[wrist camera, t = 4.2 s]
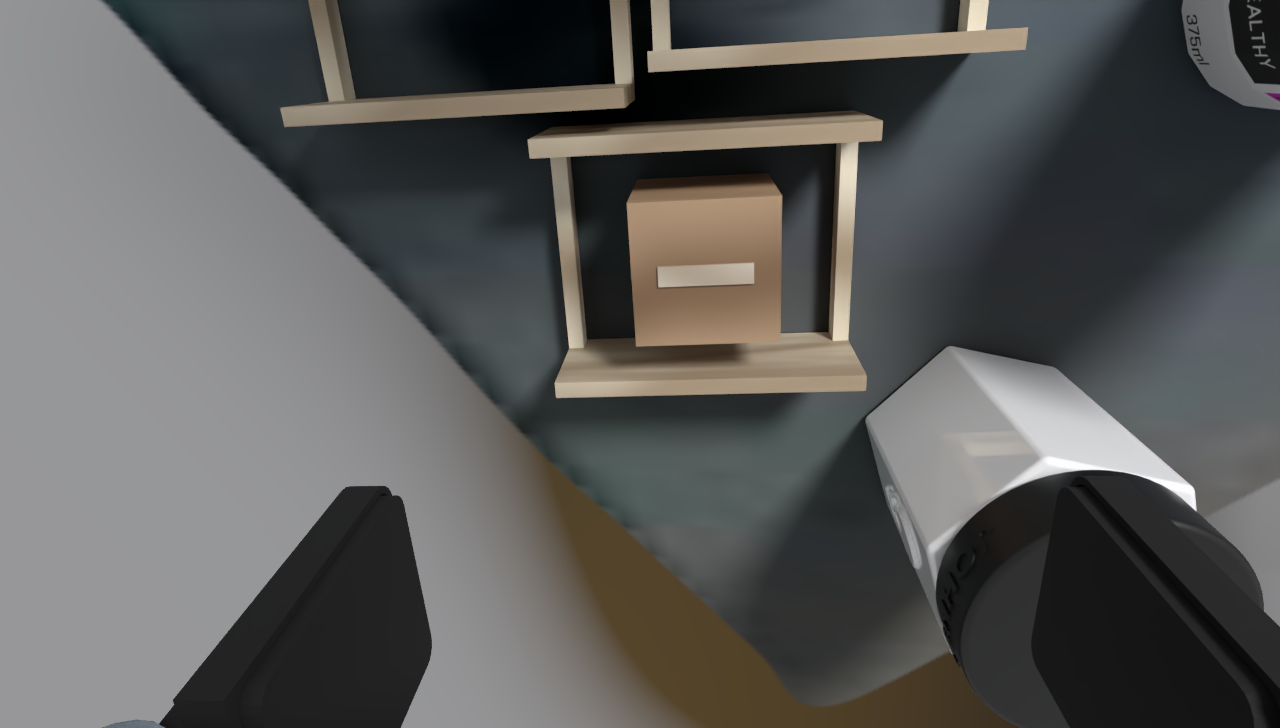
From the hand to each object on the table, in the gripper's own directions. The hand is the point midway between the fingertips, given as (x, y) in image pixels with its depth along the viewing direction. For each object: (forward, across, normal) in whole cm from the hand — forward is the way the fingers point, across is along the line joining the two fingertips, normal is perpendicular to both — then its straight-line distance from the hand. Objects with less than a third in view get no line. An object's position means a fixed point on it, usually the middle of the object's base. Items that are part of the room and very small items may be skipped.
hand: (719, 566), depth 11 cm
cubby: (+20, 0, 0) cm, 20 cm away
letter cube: (+20, 0, 0) cm, 20 cm away
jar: (+20, -11, +9) cm, 25 cm away
